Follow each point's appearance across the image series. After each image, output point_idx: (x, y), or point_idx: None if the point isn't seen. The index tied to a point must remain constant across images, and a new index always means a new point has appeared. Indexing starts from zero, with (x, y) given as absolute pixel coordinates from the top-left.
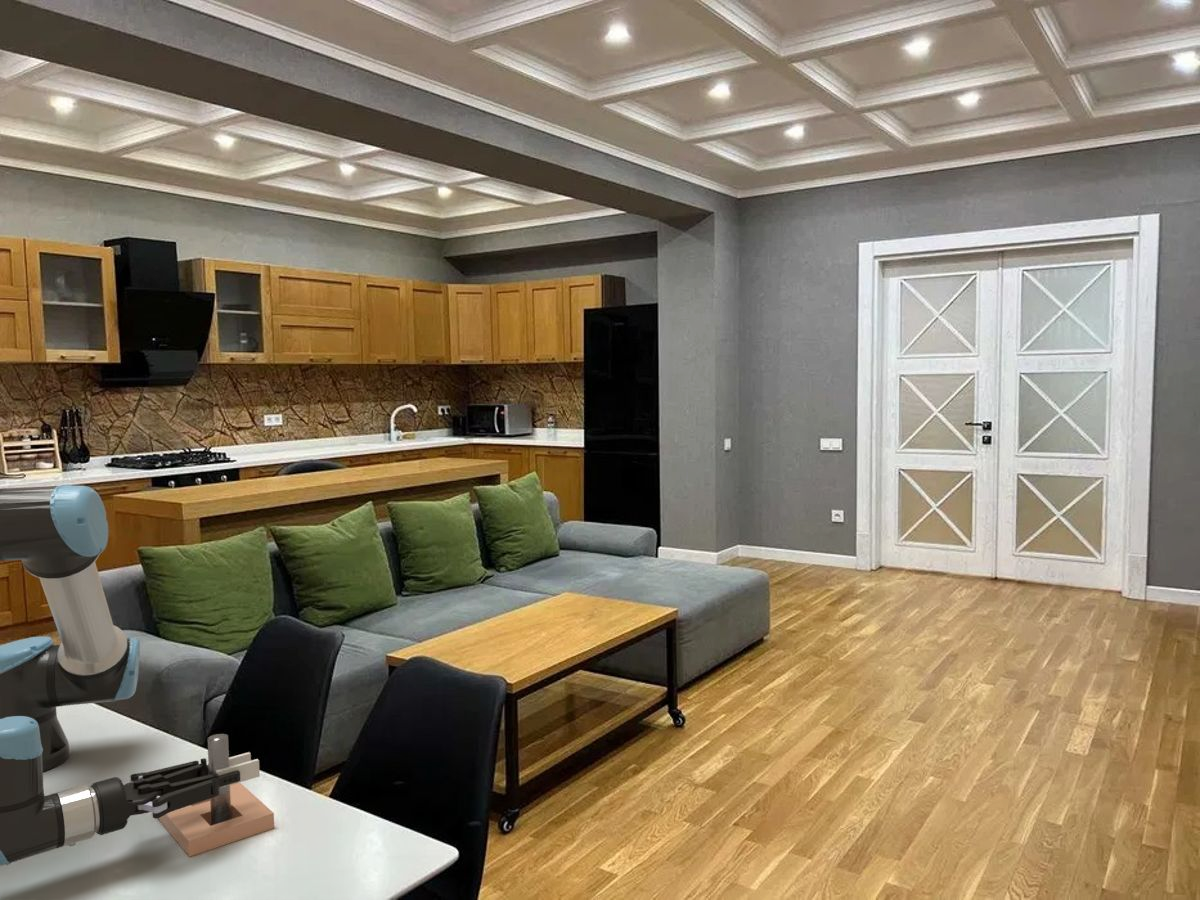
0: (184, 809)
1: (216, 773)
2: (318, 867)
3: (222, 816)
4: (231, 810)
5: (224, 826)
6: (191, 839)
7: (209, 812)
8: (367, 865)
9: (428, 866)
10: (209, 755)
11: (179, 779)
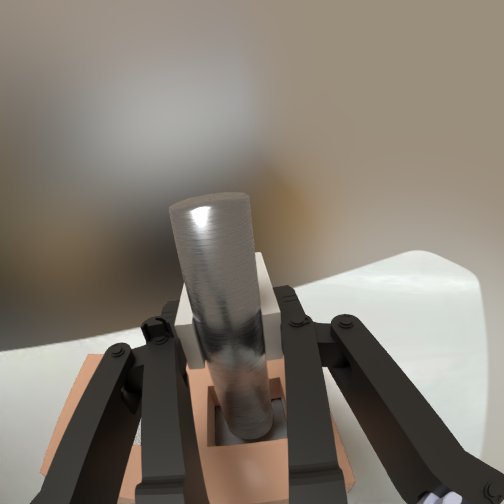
0: None
1: (270, 321)
2: (439, 318)
3: (271, 407)
4: (210, 394)
5: None
6: (352, 475)
7: (207, 428)
8: (438, 285)
9: (441, 258)
10: (225, 276)
11: (188, 432)
